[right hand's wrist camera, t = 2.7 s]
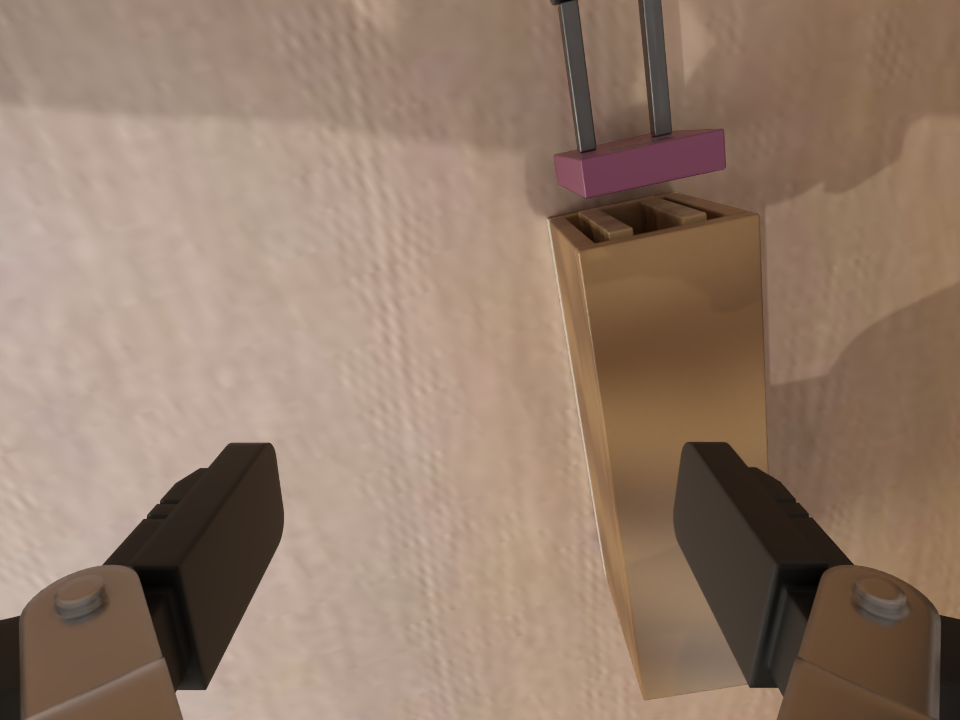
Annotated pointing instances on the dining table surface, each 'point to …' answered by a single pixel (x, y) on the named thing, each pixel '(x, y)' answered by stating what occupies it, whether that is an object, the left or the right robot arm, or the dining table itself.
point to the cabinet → (663, 412)
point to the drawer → (631, 142)
